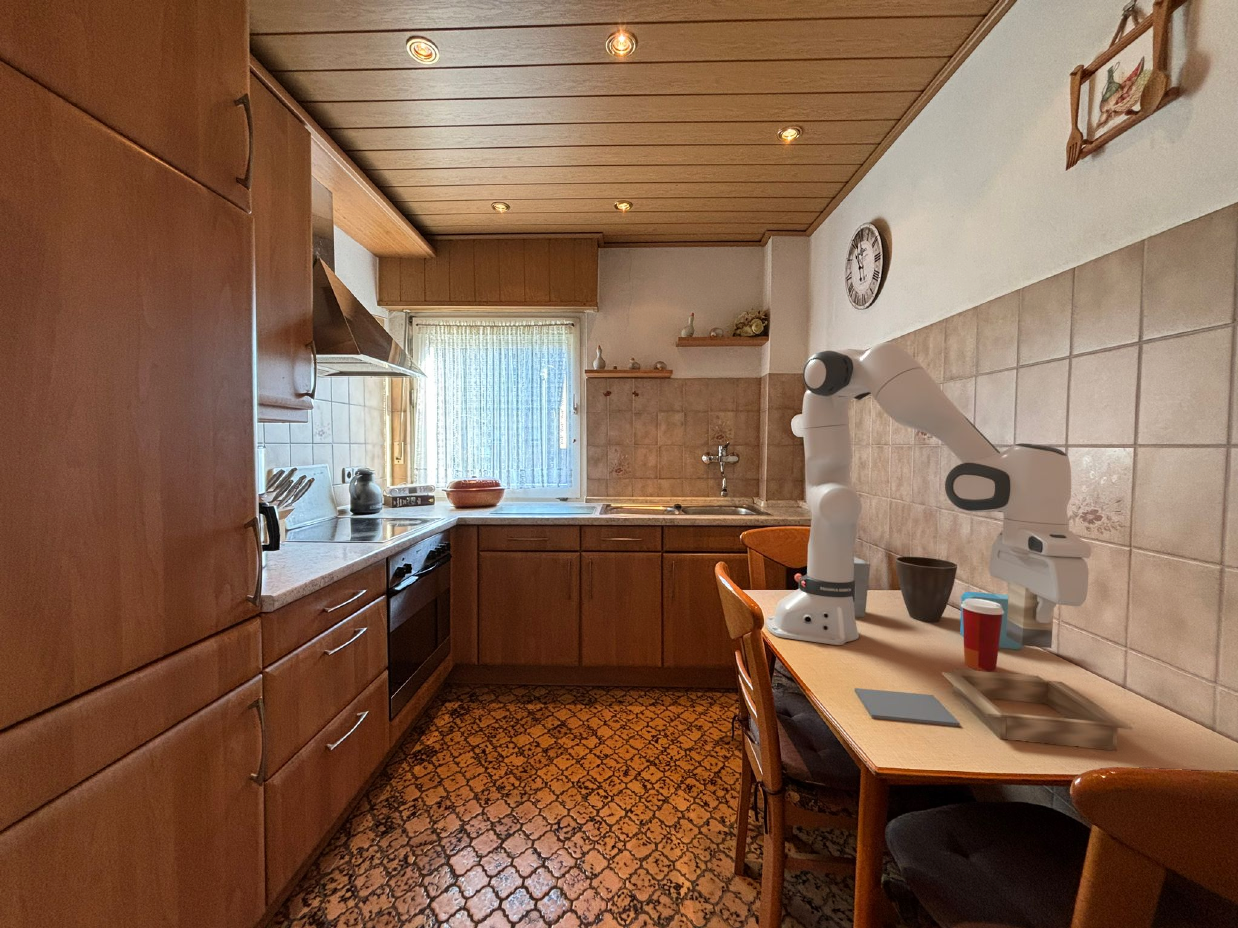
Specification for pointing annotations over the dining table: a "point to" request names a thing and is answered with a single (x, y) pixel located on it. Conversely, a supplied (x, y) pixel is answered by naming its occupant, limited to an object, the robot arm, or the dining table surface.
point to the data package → (1003, 601)
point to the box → (1026, 619)
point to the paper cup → (981, 633)
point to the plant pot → (925, 586)
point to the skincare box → (861, 586)
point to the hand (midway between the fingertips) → (1029, 615)
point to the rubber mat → (905, 707)
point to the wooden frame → (1080, 729)
